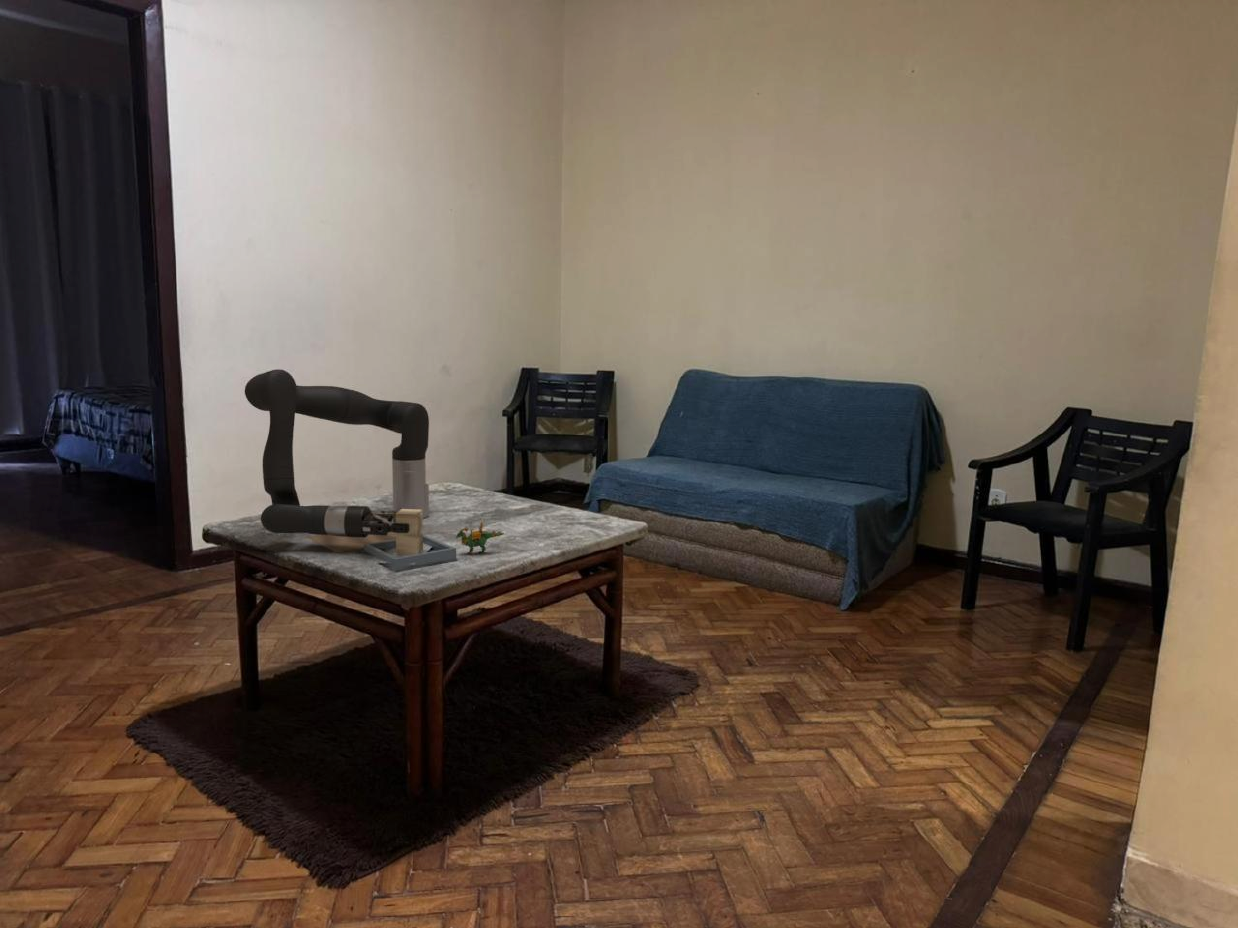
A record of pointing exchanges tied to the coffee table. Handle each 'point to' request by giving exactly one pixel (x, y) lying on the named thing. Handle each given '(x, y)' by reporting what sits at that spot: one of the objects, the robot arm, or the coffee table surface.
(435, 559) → the box
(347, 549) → the walnut board
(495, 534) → the figurine
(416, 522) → the maple block
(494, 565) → the coffee table surface
